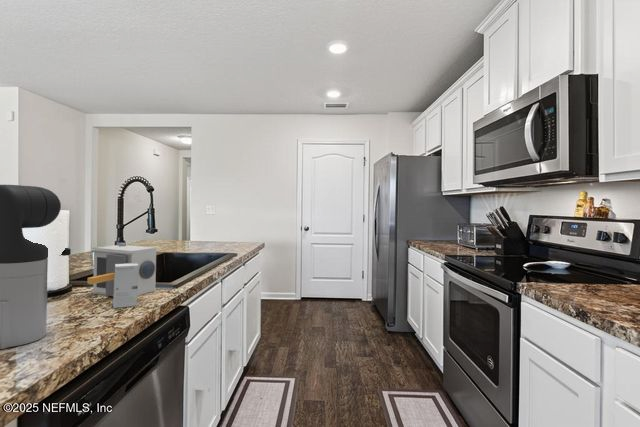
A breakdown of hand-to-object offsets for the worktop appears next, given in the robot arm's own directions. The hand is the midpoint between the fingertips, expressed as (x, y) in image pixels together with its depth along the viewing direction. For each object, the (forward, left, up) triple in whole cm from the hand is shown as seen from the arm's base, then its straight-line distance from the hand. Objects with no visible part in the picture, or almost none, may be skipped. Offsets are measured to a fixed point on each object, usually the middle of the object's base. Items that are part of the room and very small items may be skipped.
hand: (67, 252), depth 101 cm
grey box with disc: (+12, -10, -14) cm, 21 cm away
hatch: (+2, -13, -14) cm, 19 cm away
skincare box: (+1, -23, -14) cm, 27 cm away
